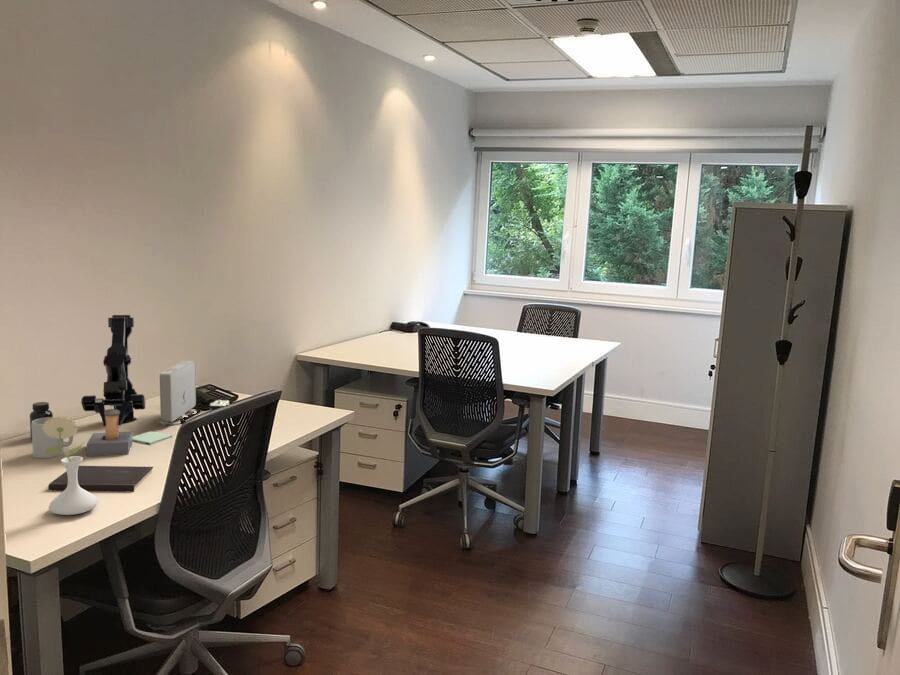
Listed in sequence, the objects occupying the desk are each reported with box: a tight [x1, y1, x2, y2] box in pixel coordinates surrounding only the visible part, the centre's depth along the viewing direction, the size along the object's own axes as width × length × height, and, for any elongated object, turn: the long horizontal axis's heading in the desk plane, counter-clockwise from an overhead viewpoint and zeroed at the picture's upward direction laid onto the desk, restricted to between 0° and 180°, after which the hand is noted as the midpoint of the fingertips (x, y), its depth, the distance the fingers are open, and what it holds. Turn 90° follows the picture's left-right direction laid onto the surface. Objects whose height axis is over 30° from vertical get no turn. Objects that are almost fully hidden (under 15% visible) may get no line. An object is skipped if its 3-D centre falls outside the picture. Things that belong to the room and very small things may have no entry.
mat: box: [133, 430, 173, 445], centre depth 250 cm, size 10×10×1 cm
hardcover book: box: [47, 465, 154, 493], centre depth 209 cm, size 16×23×2 cm
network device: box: [159, 360, 198, 426], centre depth 275 cm, size 26×9×20 cm, turn 179°
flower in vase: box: [42, 416, 99, 516], centre depth 186 cm, size 13×11×25 cm
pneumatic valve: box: [208, 399, 230, 411], centre depth 259 cm, size 6×12×12 cm, turn 3°
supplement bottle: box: [29, 401, 54, 440], centre depth 245 cm, size 7×7×12 cm
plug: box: [104, 408, 120, 440], centre depth 236 cm, size 5×5×12 cm
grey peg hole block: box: [86, 431, 134, 457], centre depth 236 cm, size 12×12×4 cm
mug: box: [31, 416, 74, 459], centre depth 229 cm, size 12×8×11 cm
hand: (111, 425), depth 234 cm, fingers closed on plug, 4 cm apart
